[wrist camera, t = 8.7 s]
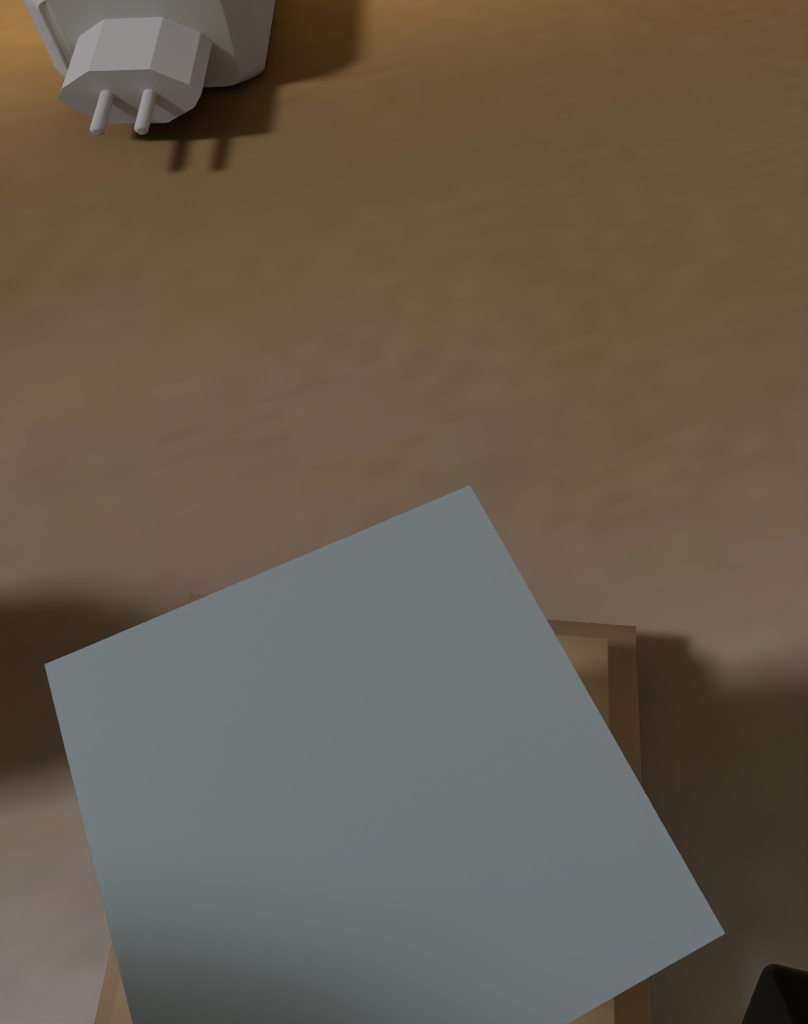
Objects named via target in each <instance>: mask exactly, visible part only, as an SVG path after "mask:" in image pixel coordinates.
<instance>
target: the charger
mask: <svg viewBox="0 0 808 1024" xmlns="http://www.w3.org/2000/svg"><path fill="white" fill-rule="evenodd" d="M23 2H24V4H25V6H26V8H27V10H28V12H29V14H30V16H31V18H32V20H33V23H34V25H35V27H36V29H37V31H38V33H39V35H40V37H41V39H42V41H43V43H44V45H45V47H46V49H47V51H48V53H49V56H50V58H51V60H52V62H53V64H54V66H55V68H56V70H57V71H58V72H59V73H60V74H61V75H62V76H63V77H65V80H64V83H63V86H62V89H61V92H60V95H59V98H58V99H60V100H61V101H62V102H64V103H65V104H67V105H68V106H69V107H71V108H72V109H74V110H75V111H78V112H81V113H83V114H86V115H89V116H92V117H93V120H92V123H91V127H90V132H91V133H92V134H94V135H96V136H101V135H103V134H104V131H105V127H106V124H107V122H109V123H111V124H135V126H134V130H135V132H137V133H138V134H140V135H144V134H147V133H148V130H149V126H150V123H168V122H170V121H171V120H173V119H175V118H177V117H178V116H180V115H182V114H184V113H185V112H187V111H189V110H190V109H192V108H194V107H195V105H196V103H197V101H198V100H199V98H200V96H201V93H202V88H203V87H225V86H232V85H235V84H238V83H241V82H244V81H247V80H250V79H252V78H254V77H256V76H258V75H259V74H261V72H262V71H263V70H264V69H265V63H266V57H267V50H268V44H269V38H270V31H271V25H272V19H273V13H274V6H275V0H23Z"/></svg>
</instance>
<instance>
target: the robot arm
mask: <svg viewBox="0 0 808 1024" xmlns="http://www.w3.org/2000/svg"><path fill="white" fill-rule="evenodd" d="M742 1024H808V972H807V971H802V970H798V969H794V968H790V967H786V966H782V965H777V964H770V965H768V966H766V967H765V968H764V969H763V971H762V973H761V975H760V978H759V980H758V983H757V985H756V988H755V990H754V993H753V996H752V998H751V1001H750V1003H749V1006H748V1008H747V1011H746V1014H745V1016H744V1019H743V1022H742Z"/></svg>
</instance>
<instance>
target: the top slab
mask: <svg viewBox="0 0 808 1024" xmlns="http://www.w3.org/2000/svg"><path fill="white" fill-rule="evenodd" d="M556 637H557V639H558V641H559V642H560V644H561V646H562V648H563V650H564V651H565V653H566V655H567V657H568V658H569V660H570V662H571V664H572V665H573V667H574V669H575V671H576V672H577V674H578V676H579V678H580V679H581V681H582V683H583V685H584V686H585V688H586V690H587V692H588V693H589V695H590V697H591V699H592V700H593V702H594V704H595V706H596V707H597V709H598V711H599V713H600V714H601V716H602V718H603V720H604V721H605V723H606V725H607V727H608V729H609V690H608V639H602V638H589V637H577V636H565V635H556ZM110 1024H133V1023H132V1019H131V1015H130V1011H129V1007H128V1003H127V999H126V995H125V991H124V987H123V982H122V978H121V977H120V981H119V986H118V990H117V995H116V999H115V1004H114V1008H113V1013H112V1017H111V1022H110ZM568 1024H614V997H613V998H611V999H610V1000H608V1001H606V1002H604V1003H603V1004H601V1005H599V1006H597V1007H596V1008H594V1009H592V1010H590V1011H589V1012H587V1013H585V1014H583V1015H582V1016H580V1017H578V1018H576V1019H575V1020H573V1021H571V1022H569V1023H568Z"/></svg>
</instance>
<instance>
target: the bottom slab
mask: <svg viewBox="0 0 808 1024" xmlns="http://www.w3.org/2000/svg"><path fill="white" fill-rule="evenodd" d="M206 596H208V595H201V594H190V597H189V601H188V604H189V603H192V602H194V601H196V600H199V599H201V598H203V597H206ZM547 621H548V623H549V625H550V627H551V628H552V630H553V632H554V634H555V635H565V636H577V637H589V638H602V639H608V690H609V730H610V732H611V734H612V736H613V737H614V739H615V741H616V743H617V744H618V746H619V748H620V750H621V751H622V753H623V755H624V757H625V758H626V760H627V762H628V764H629V765H630V767H631V769H632V771H633V772H634V774H635V776H636V778H637V779H638V781H639V783H640V785H641V786H642V764H641V741H640V717H639V694H638V670H637V647H636V626H623V625H609V624H595V623H582V622H568V621H555V620H547ZM120 977H121V974H120V970H119V966H118V962H117V958H116V954H115V950H114V946H113V942H112V947H111V951H110V955H109V960H108V964H107V969H106V973H105V978H104V982H103V987H102V991H101V996H100V1000H99V1005H98V1009H97V1014H96V1018H95V1023H94V1024H110V1022H111V1017H112V1013H113V1008H114V1004H115V999H116V995H117V990H118V986H119V981H120ZM614 1024H652V1000H651V977H648V978H646V979H645V980H643V981H641V982H639V983H638V984H636V985H634V986H632V987H631V988H629V989H627V990H625V991H624V992H622V993H620V994H618V995H617V996H615V997H614Z"/></svg>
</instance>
